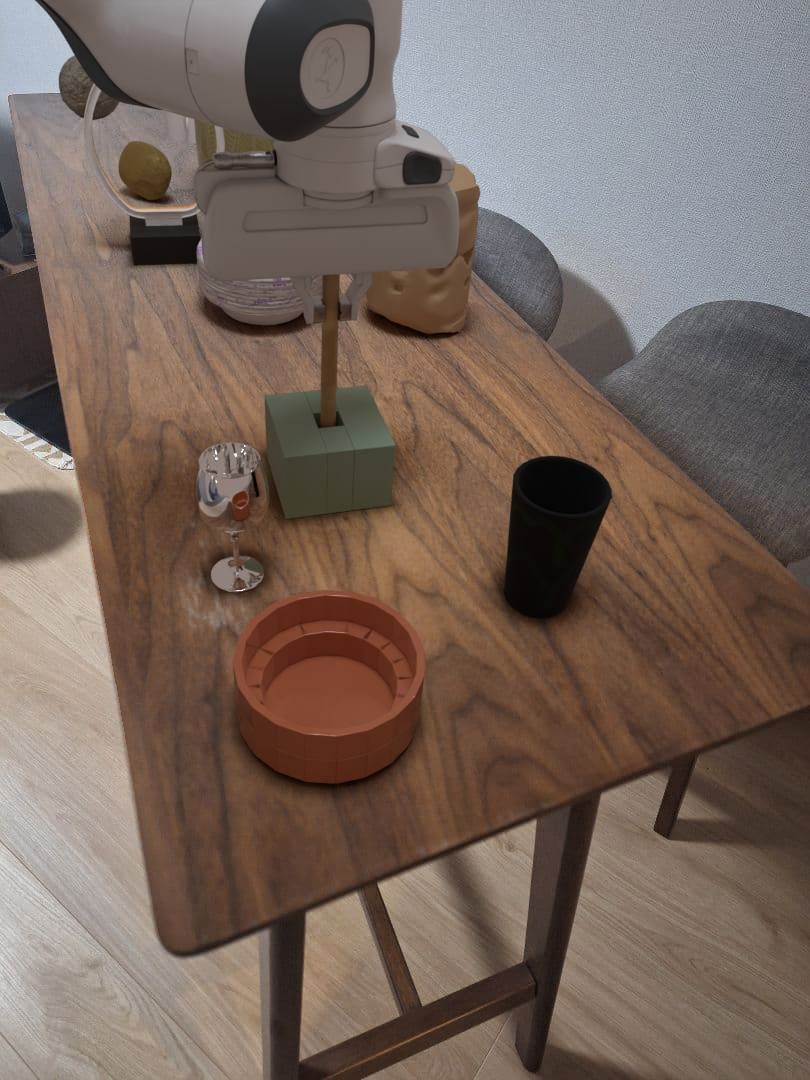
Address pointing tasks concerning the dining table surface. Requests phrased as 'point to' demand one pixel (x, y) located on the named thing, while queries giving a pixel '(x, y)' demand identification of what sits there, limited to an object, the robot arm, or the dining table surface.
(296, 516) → the stick stand
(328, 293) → the stirring stick
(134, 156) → the potato
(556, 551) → the cup
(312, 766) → the orange round piece
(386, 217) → the robot arm
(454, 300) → the container
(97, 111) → the decorative stone
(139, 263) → the lamp
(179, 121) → the cup
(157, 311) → the dining table surface
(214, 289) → the paper bowls
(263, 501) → the wineglass
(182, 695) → the dining table surface
